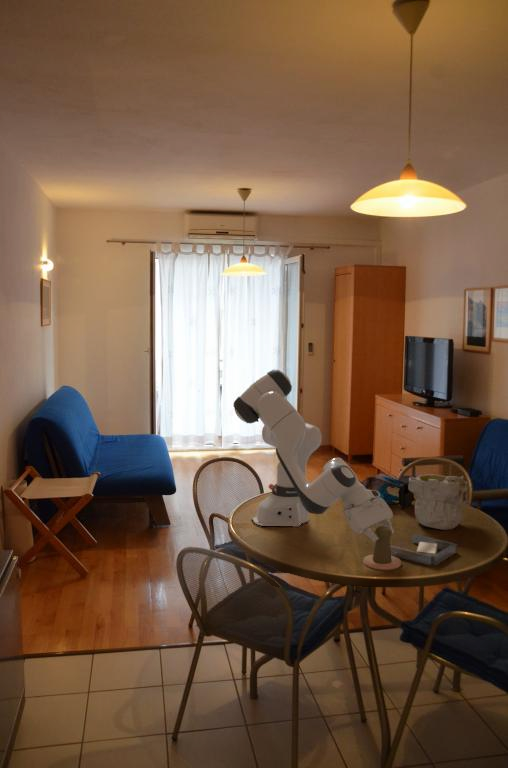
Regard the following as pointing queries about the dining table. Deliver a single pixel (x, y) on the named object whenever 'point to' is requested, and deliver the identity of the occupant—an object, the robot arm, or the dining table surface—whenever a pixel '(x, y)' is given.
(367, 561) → the pink round disc
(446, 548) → the grey u-shaped frame
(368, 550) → the dining table surface
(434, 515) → the ceramic vessel
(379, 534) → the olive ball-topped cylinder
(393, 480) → the lantern
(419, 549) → the offcut stack
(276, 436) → the robot arm
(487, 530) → the dining table surface
